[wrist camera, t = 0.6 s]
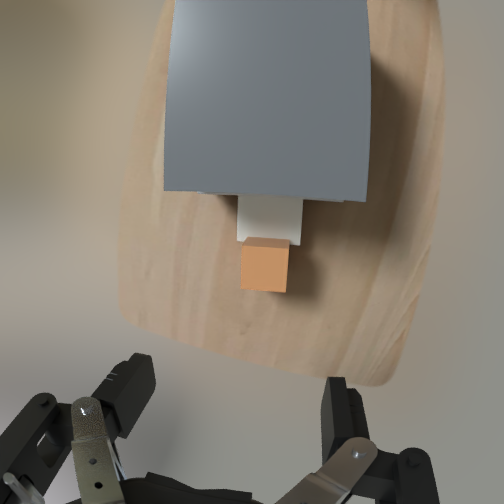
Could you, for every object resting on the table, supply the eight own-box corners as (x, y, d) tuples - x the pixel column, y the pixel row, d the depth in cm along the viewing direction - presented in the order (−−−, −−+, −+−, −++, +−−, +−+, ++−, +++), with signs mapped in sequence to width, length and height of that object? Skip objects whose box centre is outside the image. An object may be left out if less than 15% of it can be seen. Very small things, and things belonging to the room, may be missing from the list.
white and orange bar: (245, 74, 27) (236, 59, 22) (307, 76, 26) (309, 60, 22) (239, 268, 33) (229, 287, 28) (296, 273, 32) (296, 293, 27)
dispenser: (209, 34, 26) (176, -8, 17) (347, 37, 25) (365, -8, 15) (203, 190, 31) (164, 204, 22) (342, 198, 30) (364, 216, 20)
